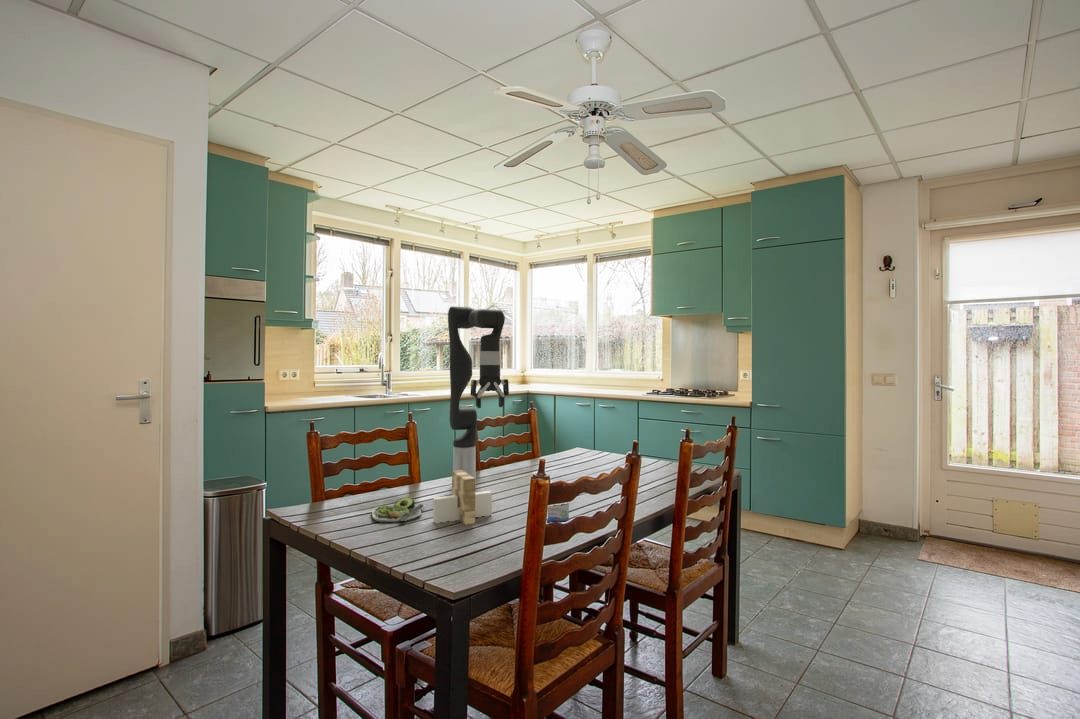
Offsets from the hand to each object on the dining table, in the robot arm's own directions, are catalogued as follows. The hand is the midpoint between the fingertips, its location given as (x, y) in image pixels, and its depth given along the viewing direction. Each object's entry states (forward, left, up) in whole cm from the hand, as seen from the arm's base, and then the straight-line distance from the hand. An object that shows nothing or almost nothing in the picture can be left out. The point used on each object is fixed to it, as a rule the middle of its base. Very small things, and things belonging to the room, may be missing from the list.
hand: (489, 407), depth 200 cm
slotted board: (+11, -14, -36) cm, 40 cm away
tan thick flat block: (+11, -14, -36) cm, 40 cm away
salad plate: (-3, -33, -37) cm, 49 cm away
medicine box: (+26, +14, -36) cm, 47 cm away
